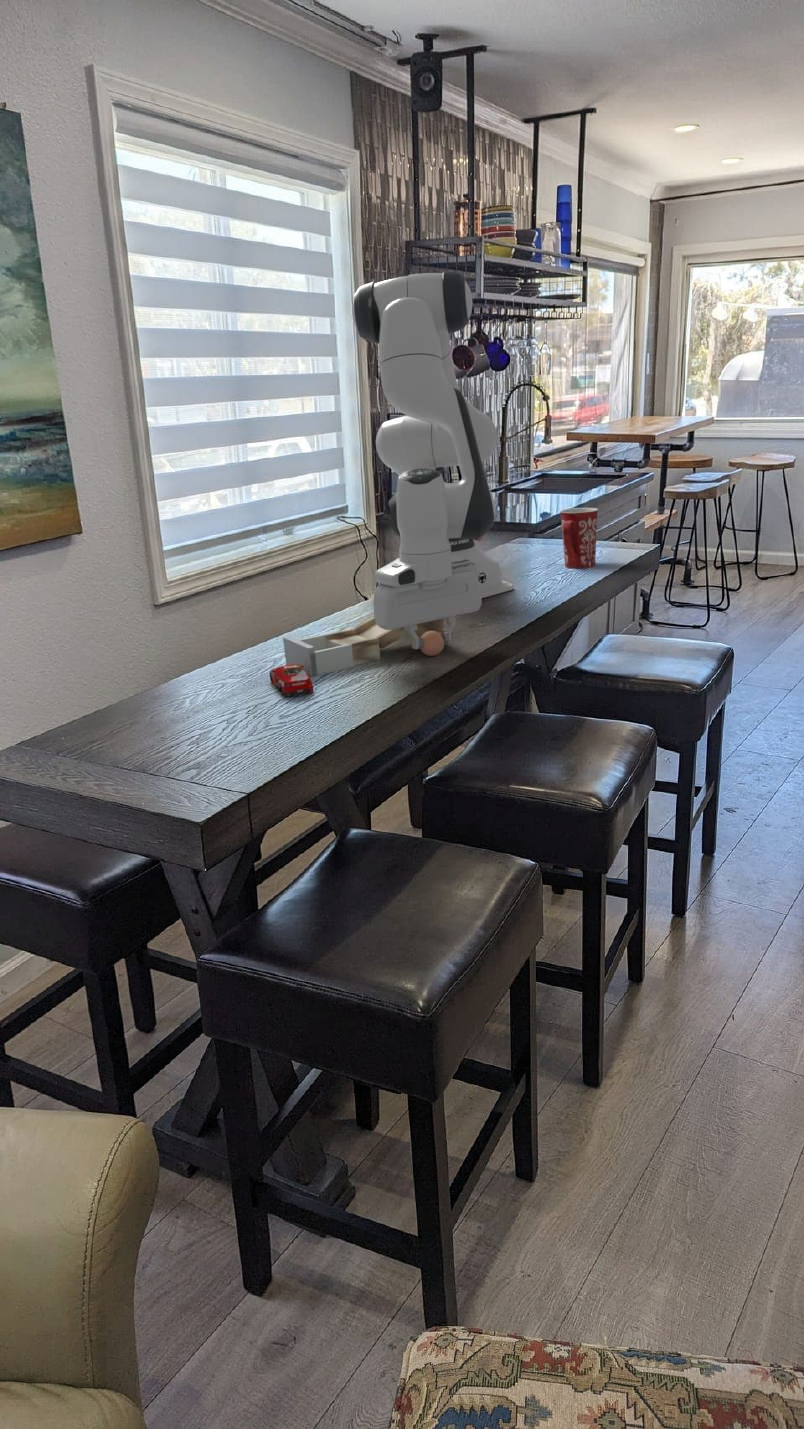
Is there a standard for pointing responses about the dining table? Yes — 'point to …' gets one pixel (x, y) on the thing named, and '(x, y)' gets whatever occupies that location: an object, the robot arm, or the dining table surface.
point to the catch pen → (317, 655)
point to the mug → (579, 536)
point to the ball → (432, 643)
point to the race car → (291, 680)
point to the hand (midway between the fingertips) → (431, 644)
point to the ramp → (374, 638)
